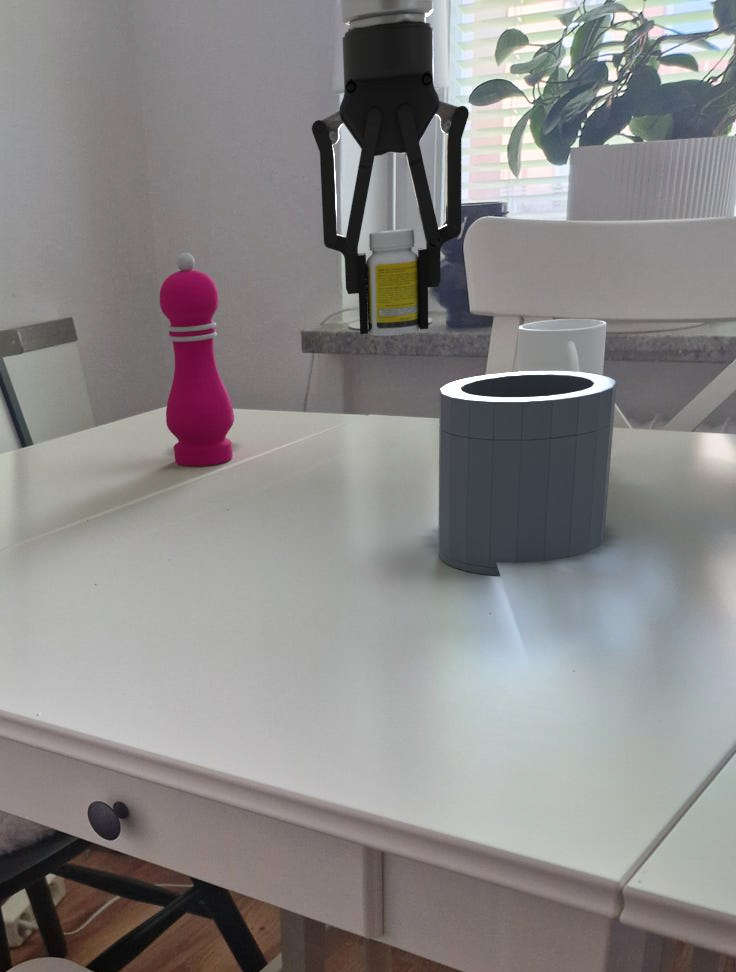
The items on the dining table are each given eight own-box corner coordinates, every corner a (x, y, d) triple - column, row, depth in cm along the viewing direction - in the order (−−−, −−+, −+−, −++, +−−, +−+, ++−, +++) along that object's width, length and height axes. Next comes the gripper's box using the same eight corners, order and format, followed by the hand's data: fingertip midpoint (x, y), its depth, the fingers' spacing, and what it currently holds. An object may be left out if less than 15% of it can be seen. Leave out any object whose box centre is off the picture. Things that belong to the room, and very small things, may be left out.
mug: (609, 471, 108) (620, 332, 102) (516, 475, 109) (521, 338, 103) (593, 444, 118) (603, 315, 112) (508, 448, 120) (512, 321, 113)
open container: (587, 526, 94) (599, 366, 87) (616, 572, 83) (631, 395, 77) (434, 533, 95) (435, 377, 89) (443, 580, 84) (445, 406, 78)
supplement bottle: (430, 330, 107) (429, 227, 103) (390, 337, 105) (388, 233, 101) (397, 328, 111) (395, 228, 107) (357, 335, 109) (354, 234, 105)
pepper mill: (204, 470, 121) (184, 255, 111) (156, 464, 125) (133, 256, 115) (251, 456, 125) (236, 248, 115) (203, 450, 130) (185, 249, 120)
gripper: (277, 31, 94) (296, 342, 106) (501, 7, 92) (494, 326, 104) (283, 40, 101) (300, 332, 112) (492, 18, 99) (487, 317, 110)
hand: (393, 329), depth 108 cm, fingers closed on supplement bottle, 5 cm apart
